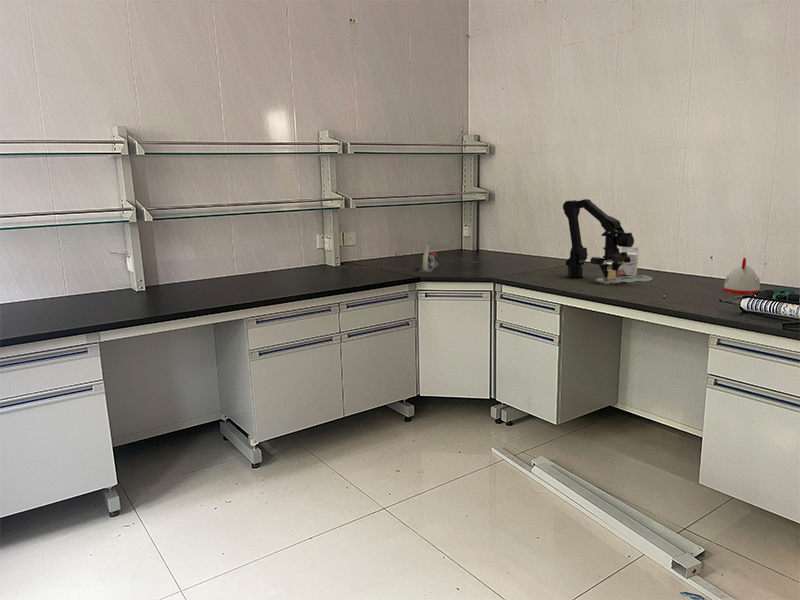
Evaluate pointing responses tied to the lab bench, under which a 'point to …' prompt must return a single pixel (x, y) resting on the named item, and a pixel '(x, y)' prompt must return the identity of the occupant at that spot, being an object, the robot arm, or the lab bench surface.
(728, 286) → the kitchen timer
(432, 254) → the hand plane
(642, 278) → the grey compartment frame
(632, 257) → the ink cartridge box
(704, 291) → the lab bench surface
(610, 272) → the brass block
